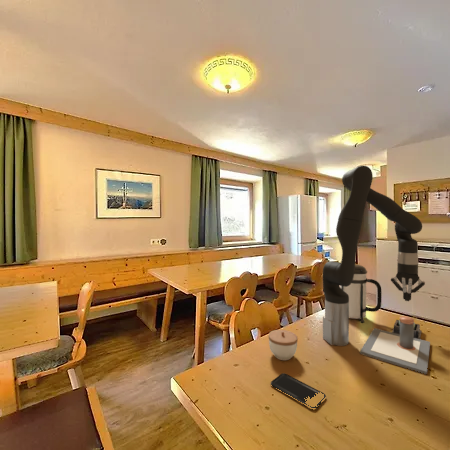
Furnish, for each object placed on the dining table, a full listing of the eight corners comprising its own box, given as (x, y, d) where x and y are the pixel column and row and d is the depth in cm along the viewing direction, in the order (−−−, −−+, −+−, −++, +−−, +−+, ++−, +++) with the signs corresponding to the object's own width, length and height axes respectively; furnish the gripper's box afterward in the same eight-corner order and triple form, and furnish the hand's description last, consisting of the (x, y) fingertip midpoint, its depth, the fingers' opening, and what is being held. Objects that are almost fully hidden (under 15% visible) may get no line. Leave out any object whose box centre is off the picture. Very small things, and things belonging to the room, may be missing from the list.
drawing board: (426, 374, 84) (426, 370, 84) (360, 353, 97) (360, 350, 97) (430, 344, 104) (430, 341, 104) (374, 330, 117) (374, 327, 117)
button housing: (419, 339, 107) (420, 332, 107) (391, 332, 114) (391, 325, 114) (421, 331, 115) (421, 324, 115) (395, 325, 121) (395, 318, 121)
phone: (283, 372, 85) (327, 394, 74) (283, 375, 85) (327, 398, 74) (269, 383, 79) (314, 409, 68) (269, 386, 79) (314, 413, 68)
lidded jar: (297, 350, 100) (297, 326, 100) (297, 366, 89) (297, 339, 89) (269, 347, 103) (269, 324, 102) (267, 361, 92) (267, 336, 92)
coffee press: (349, 325, 122) (350, 263, 121) (331, 313, 138) (331, 258, 137) (382, 323, 124) (383, 262, 123) (360, 311, 140) (361, 257, 139)
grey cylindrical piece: (406, 349, 97) (407, 321, 97) (396, 343, 102) (396, 316, 101) (416, 348, 98) (417, 320, 98) (406, 342, 103) (406, 315, 102)
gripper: (426, 262, 112) (426, 301, 113) (391, 259, 120) (390, 295, 121) (426, 265, 106) (425, 306, 107) (388, 262, 115) (388, 299, 115)
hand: (407, 300), depth 114 cm, fingers closed
